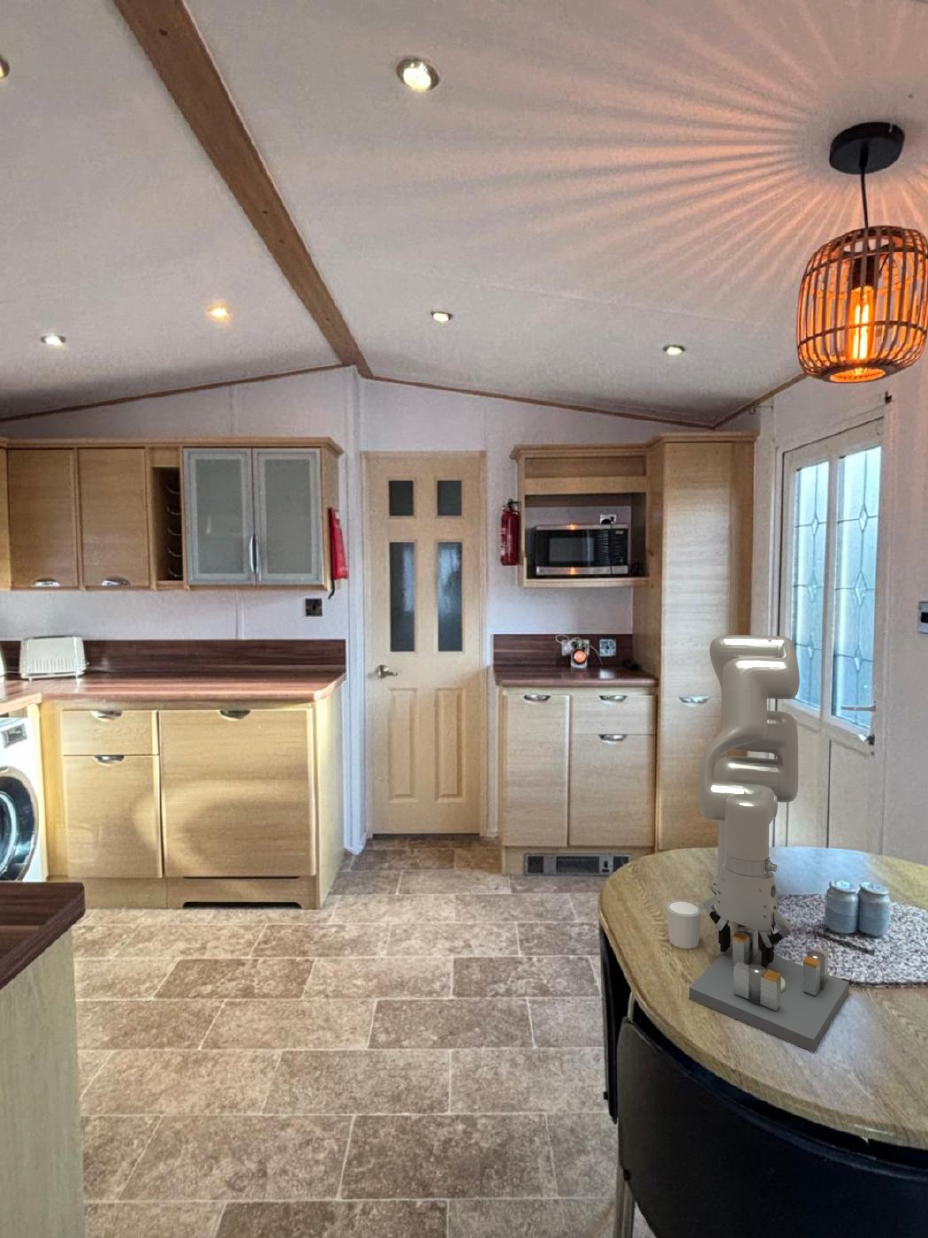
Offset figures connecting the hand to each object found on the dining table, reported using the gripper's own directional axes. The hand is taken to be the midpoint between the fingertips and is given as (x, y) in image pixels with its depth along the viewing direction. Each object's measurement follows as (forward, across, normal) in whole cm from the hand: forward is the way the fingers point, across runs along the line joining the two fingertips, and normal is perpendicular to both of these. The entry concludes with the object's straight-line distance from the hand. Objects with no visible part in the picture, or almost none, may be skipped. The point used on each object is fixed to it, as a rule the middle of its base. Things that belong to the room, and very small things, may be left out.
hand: (745, 956), depth 126 cm
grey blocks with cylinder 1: (+1, -6, +11) cm, 13 cm away
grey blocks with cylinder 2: (+1, -12, 0) cm, 12 cm away
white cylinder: (+3, +13, -2) cm, 13 cm away
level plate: (+3, -6, +5) cm, 8 cm away
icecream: (+3, +3, -13) cm, 13 cm away
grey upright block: (+1, 0, 0) cm, 1 cm away
